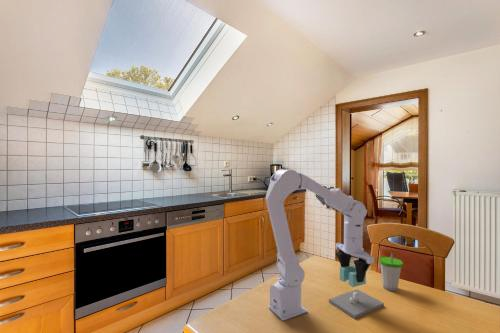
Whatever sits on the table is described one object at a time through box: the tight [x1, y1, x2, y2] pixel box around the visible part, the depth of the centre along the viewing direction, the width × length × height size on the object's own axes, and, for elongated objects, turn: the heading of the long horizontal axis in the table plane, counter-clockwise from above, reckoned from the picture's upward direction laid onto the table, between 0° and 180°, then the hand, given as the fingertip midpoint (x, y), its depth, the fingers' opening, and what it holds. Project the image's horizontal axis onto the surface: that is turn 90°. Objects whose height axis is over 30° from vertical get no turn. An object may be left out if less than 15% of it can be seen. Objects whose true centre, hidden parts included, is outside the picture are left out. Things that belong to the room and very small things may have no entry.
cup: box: [378, 251, 404, 292], centre depth 93 cm, size 8×8×15 cm
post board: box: [328, 289, 385, 320], centre depth 82 cm, size 14×10×4 cm
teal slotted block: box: [339, 264, 367, 288], centre depth 83 cm, size 6×6×4 cm
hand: (352, 277), depth 83 cm, fingers closed on teal slotted block, 6 cm apart
